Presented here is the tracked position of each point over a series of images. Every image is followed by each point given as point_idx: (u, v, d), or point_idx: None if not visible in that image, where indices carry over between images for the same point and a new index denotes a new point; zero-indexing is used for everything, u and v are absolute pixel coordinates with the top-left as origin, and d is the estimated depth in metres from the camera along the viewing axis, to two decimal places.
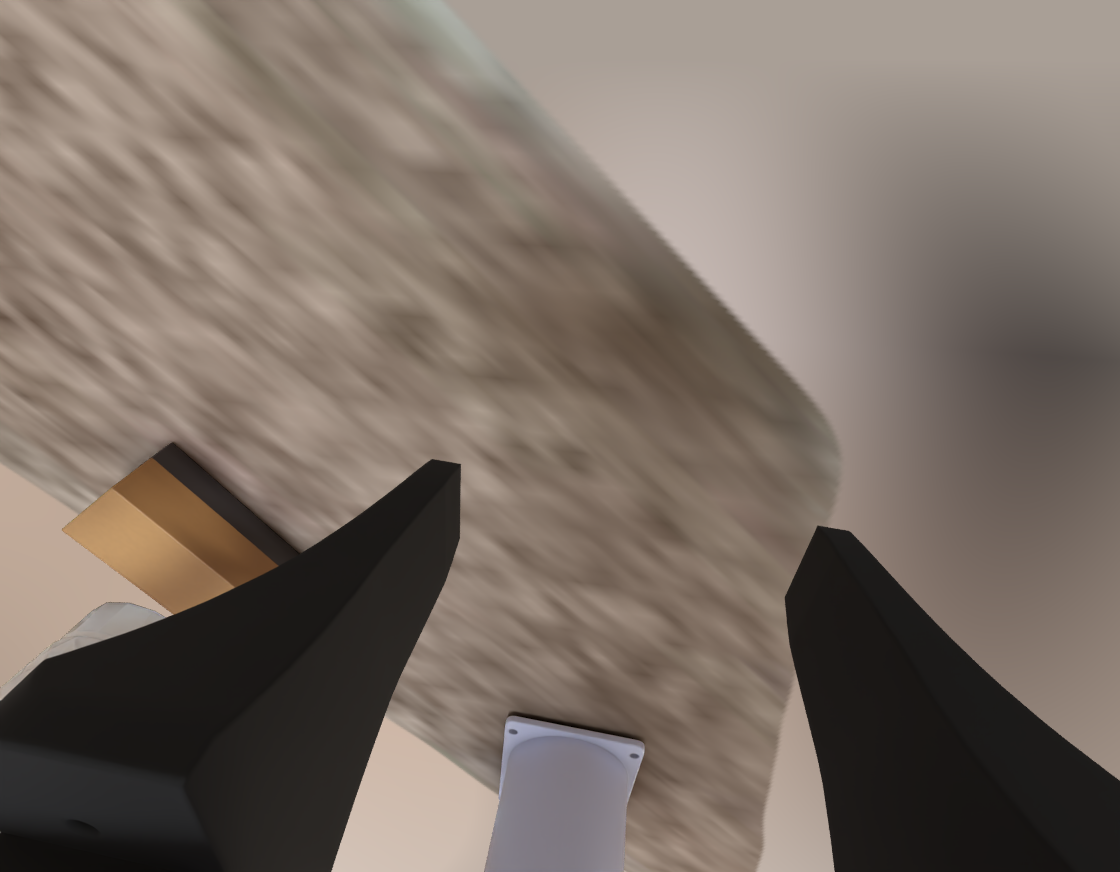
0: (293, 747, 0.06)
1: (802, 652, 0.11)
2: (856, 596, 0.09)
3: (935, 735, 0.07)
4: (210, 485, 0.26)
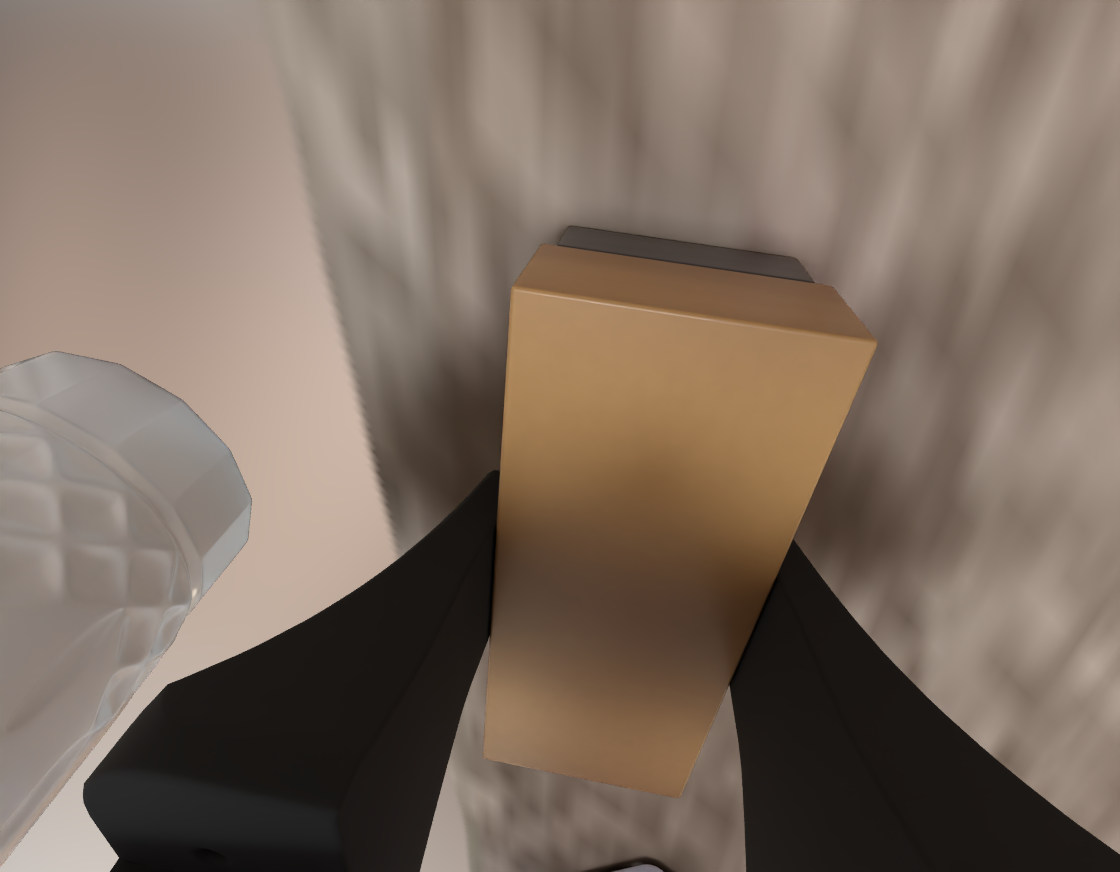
0: (402, 769, 0.06)
1: None
2: None
3: (823, 713, 0.07)
4: None
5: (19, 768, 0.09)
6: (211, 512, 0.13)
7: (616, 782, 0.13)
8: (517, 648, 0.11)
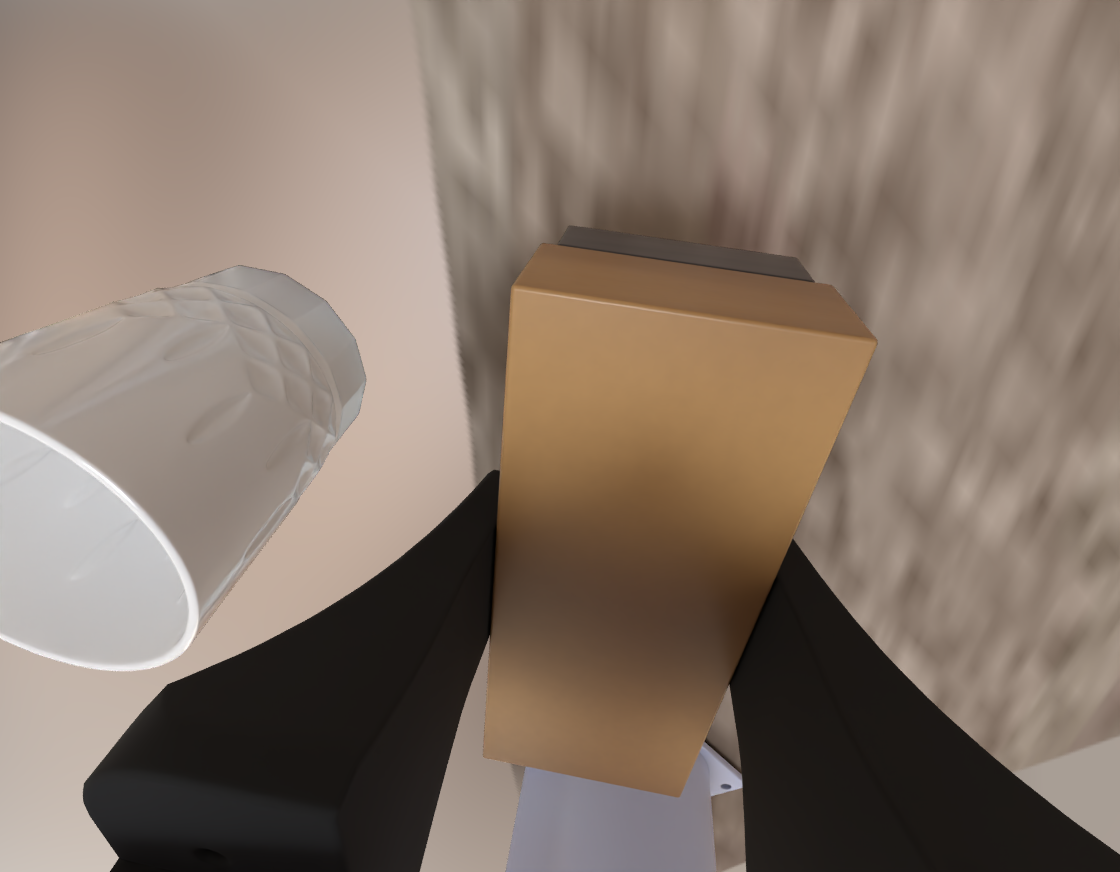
0: (402, 770, 0.06)
1: None
2: None
3: (823, 713, 0.07)
4: None
5: (270, 495, 0.15)
6: (346, 378, 0.19)
7: (616, 781, 0.13)
8: (517, 648, 0.11)
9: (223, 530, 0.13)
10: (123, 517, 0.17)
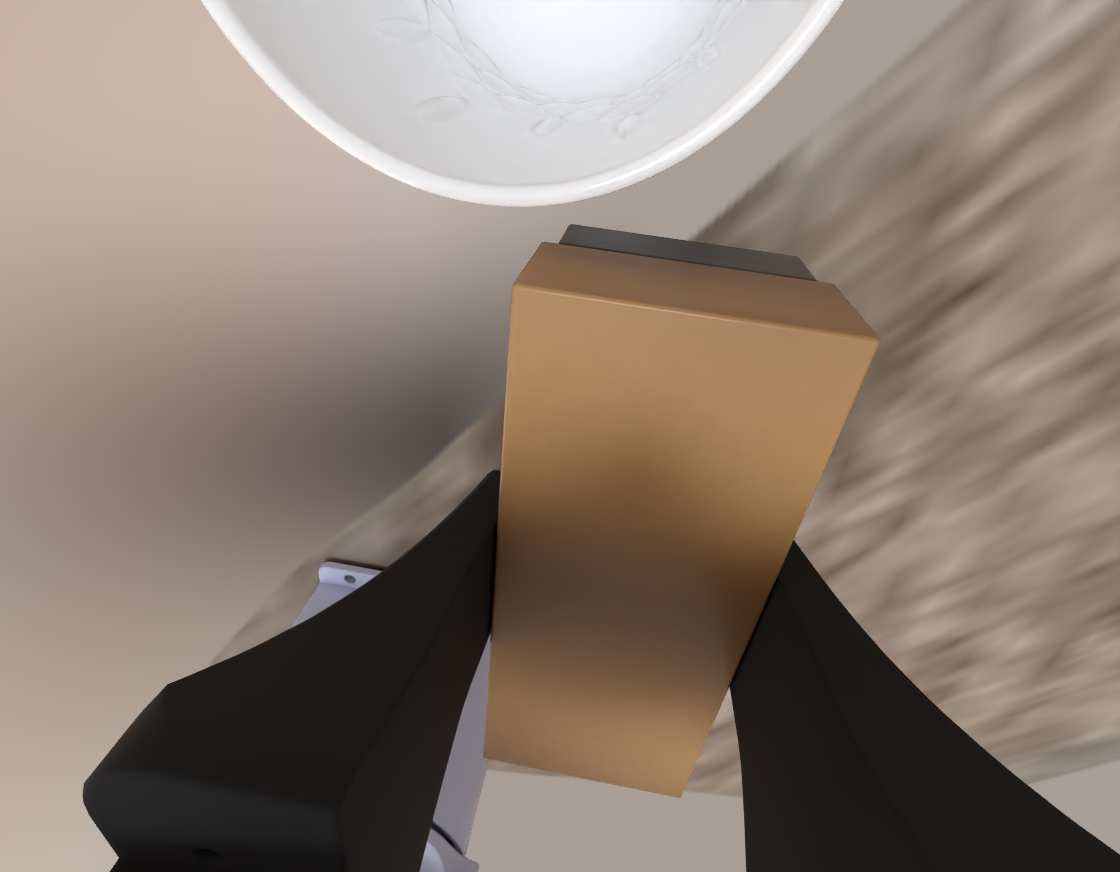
0: (402, 769, 0.06)
1: None
2: None
3: (823, 713, 0.07)
4: None
5: None
6: None
7: (617, 781, 0.13)
8: (518, 647, 0.11)
9: None
10: None
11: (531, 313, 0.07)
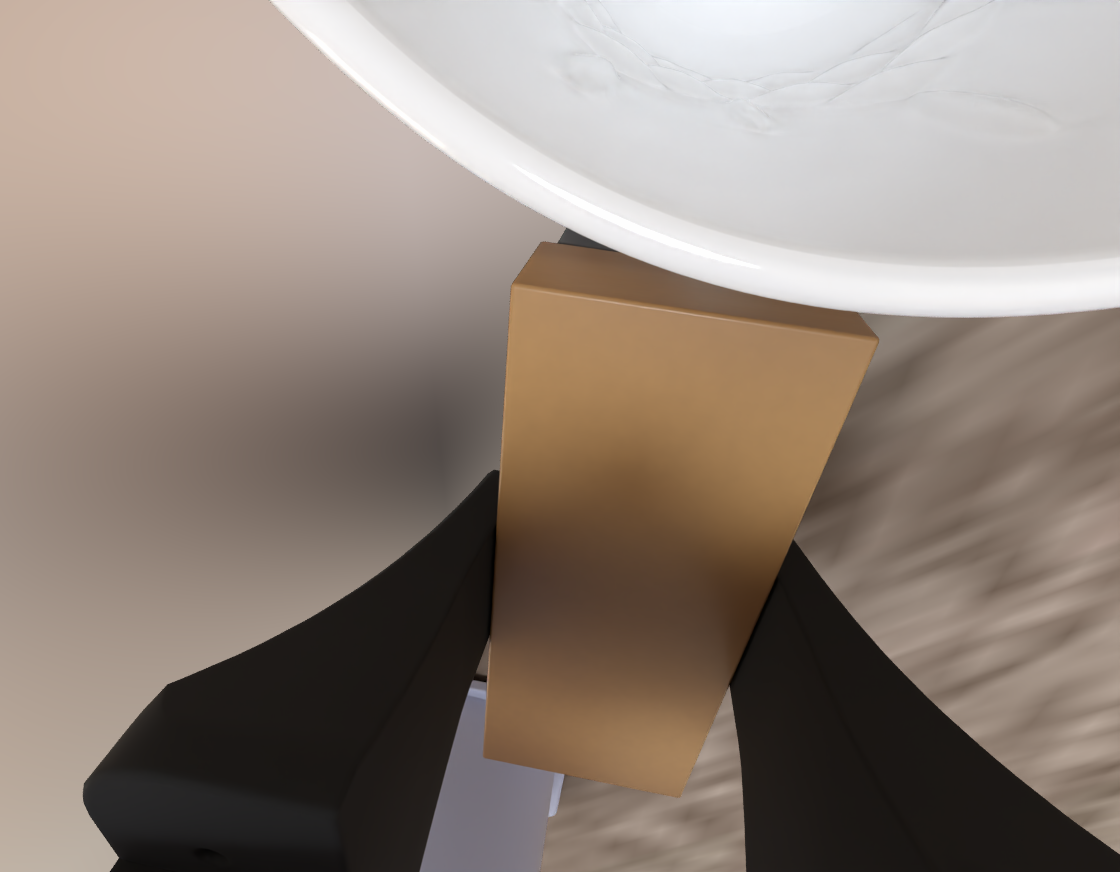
0: (401, 770, 0.06)
1: None
2: None
3: (823, 713, 0.07)
4: None
5: None
6: None
7: (617, 781, 0.13)
8: (517, 647, 0.11)
9: None
10: None
11: (530, 313, 0.07)
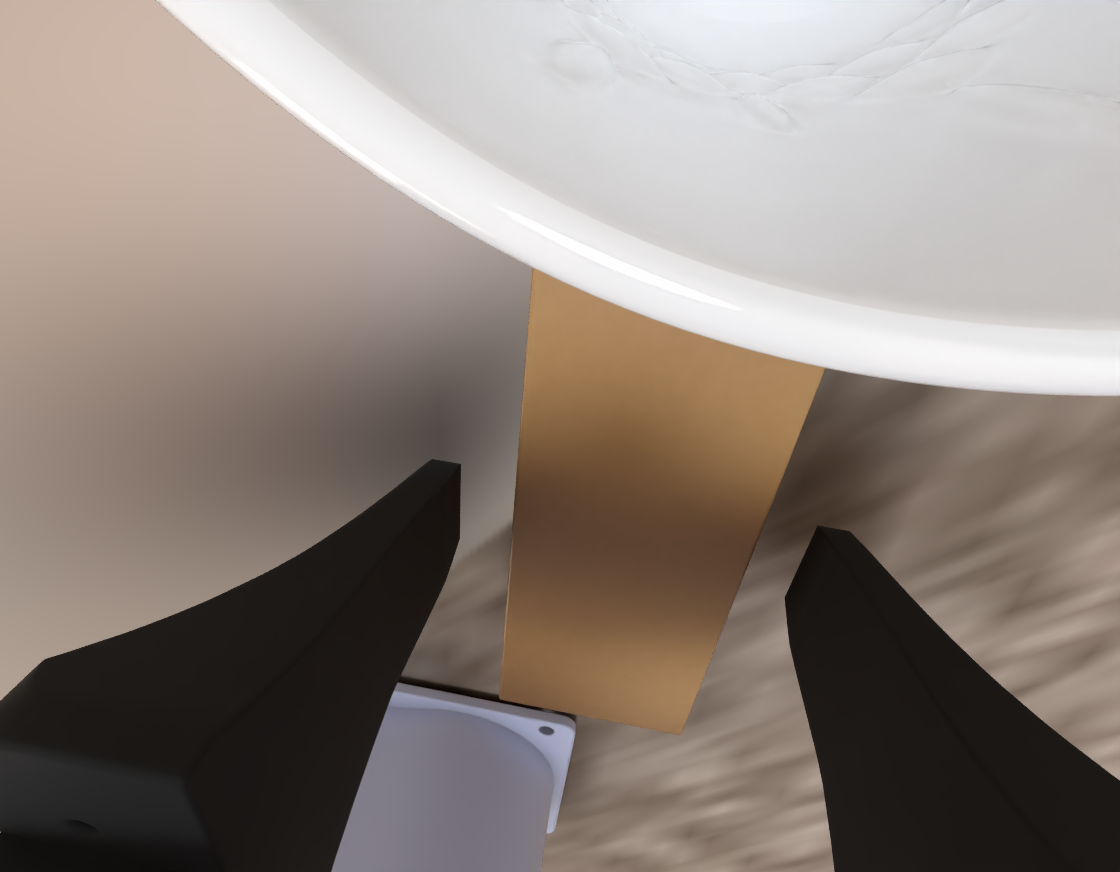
0: (293, 747, 0.06)
1: (802, 652, 0.11)
2: (857, 596, 0.09)
3: (935, 735, 0.07)
4: None
5: None
6: None
7: (622, 720, 0.14)
8: (533, 589, 0.12)
9: None
10: None
11: None
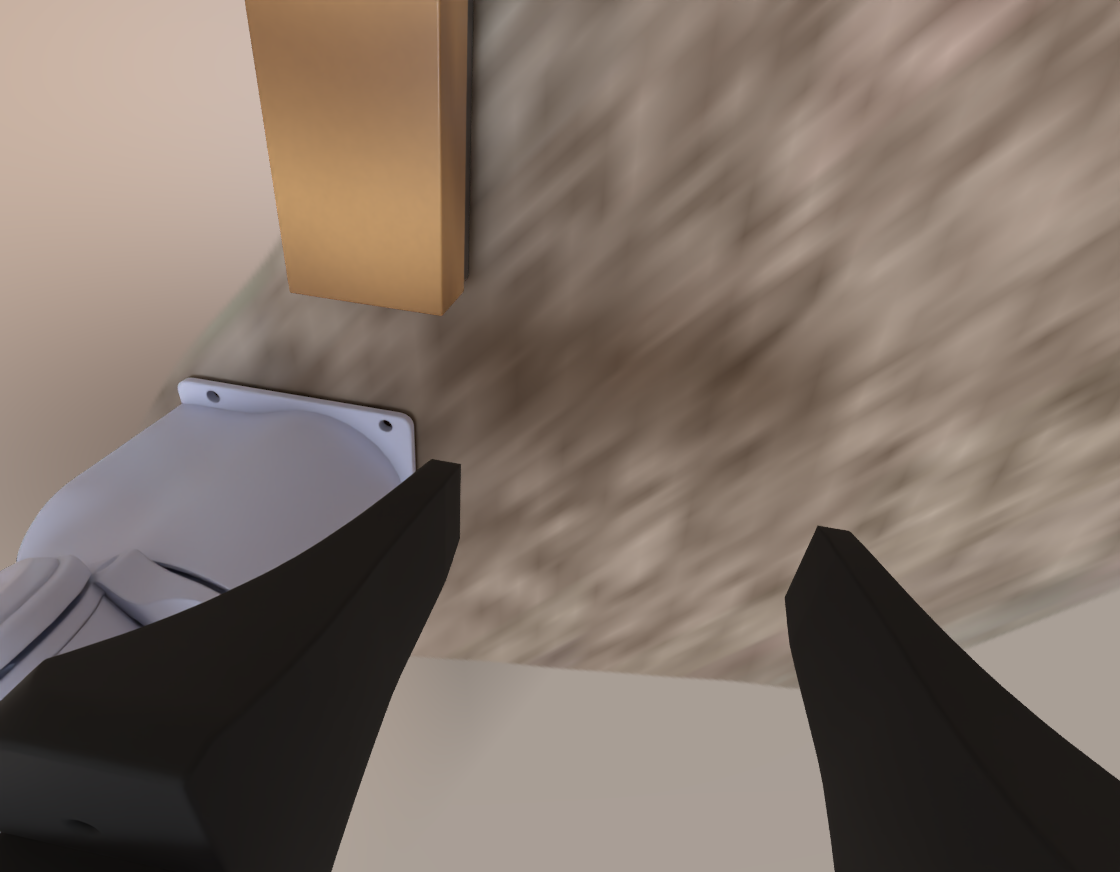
0: (293, 747, 0.06)
1: (802, 652, 0.11)
2: (856, 596, 0.09)
3: (935, 735, 0.07)
4: None
5: None
6: None
7: (391, 302, 0.16)
8: (285, 135, 0.14)
9: None
10: None
11: None
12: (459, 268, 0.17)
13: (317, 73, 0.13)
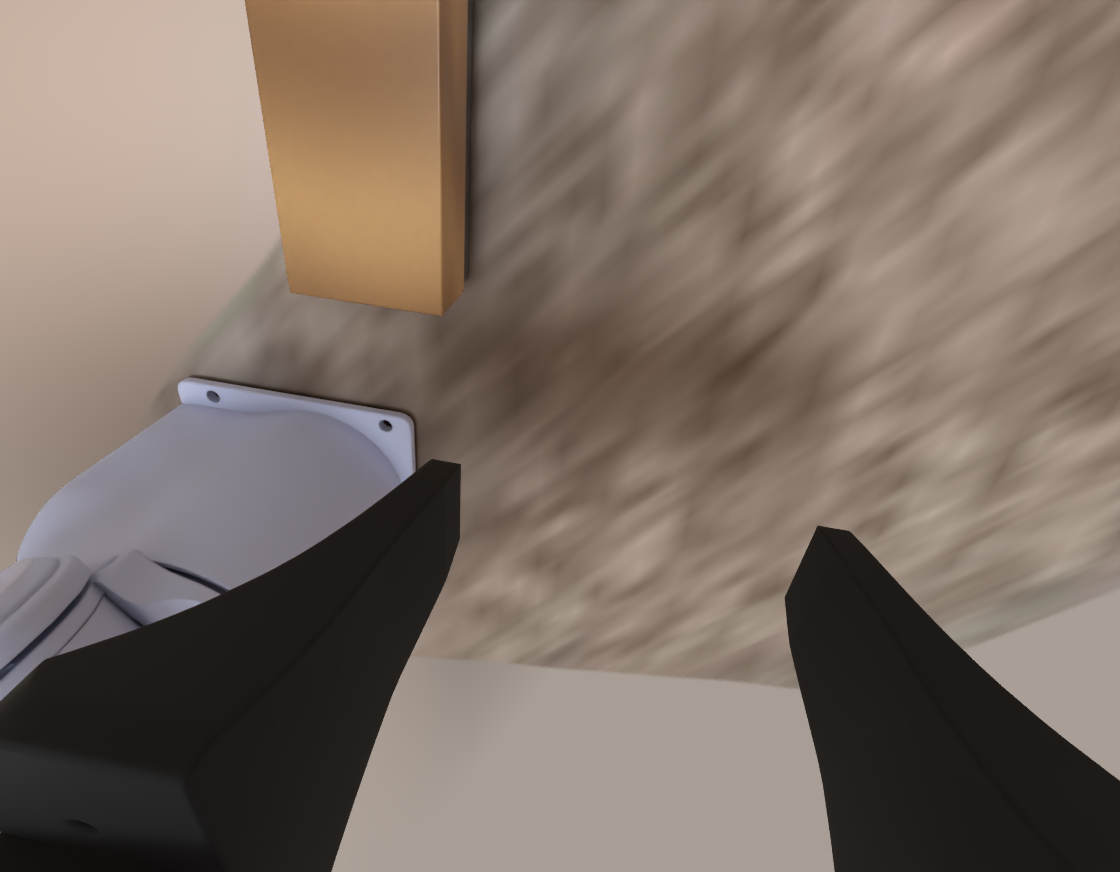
0: (293, 747, 0.06)
1: (802, 652, 0.11)
2: (856, 596, 0.09)
3: (935, 735, 0.07)
4: None
5: None
6: None
7: (391, 302, 0.16)
8: (285, 135, 0.14)
9: None
10: None
11: None
12: (459, 268, 0.17)
13: (317, 73, 0.13)
